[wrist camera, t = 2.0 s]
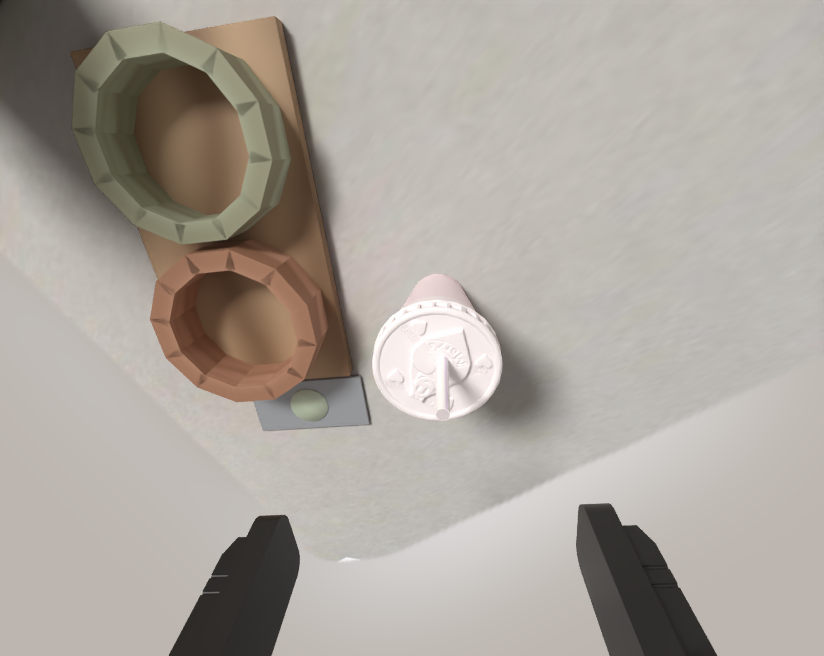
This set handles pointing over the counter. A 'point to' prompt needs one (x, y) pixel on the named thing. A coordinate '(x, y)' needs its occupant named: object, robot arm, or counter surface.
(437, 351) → the smoothie
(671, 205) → the counter surface
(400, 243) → the counter surface
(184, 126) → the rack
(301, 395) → the card
